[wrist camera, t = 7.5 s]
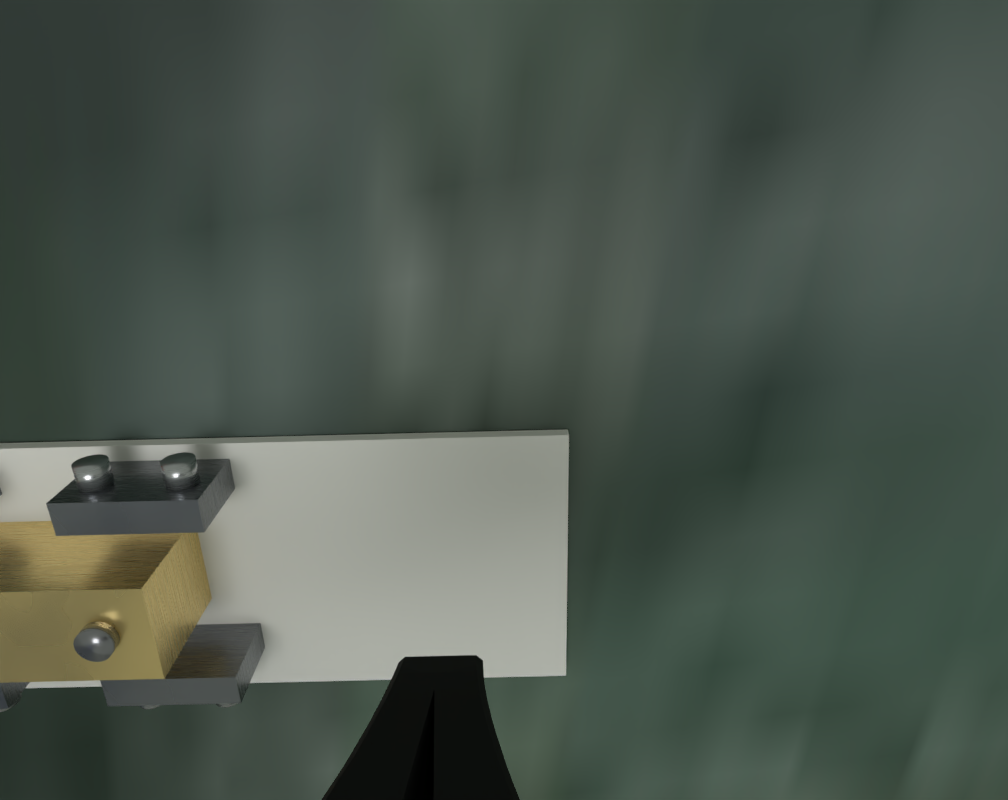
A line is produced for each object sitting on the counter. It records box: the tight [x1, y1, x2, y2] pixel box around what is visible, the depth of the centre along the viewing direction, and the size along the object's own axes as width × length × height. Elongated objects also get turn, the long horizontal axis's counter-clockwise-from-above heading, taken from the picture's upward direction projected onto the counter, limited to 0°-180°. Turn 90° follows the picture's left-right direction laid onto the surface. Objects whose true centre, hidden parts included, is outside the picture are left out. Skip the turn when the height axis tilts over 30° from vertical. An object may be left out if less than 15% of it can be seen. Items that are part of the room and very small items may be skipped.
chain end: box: [46, 452, 265, 709], centre depth 21 cm, size 8×4×2 cm, turn 1°
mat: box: [0, 429, 569, 688], centre depth 23 cm, size 9×23×1 cm, turn 91°
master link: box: [0, 521, 212, 683], centre depth 20 cm, size 3×8×4 cm, turn 91°
